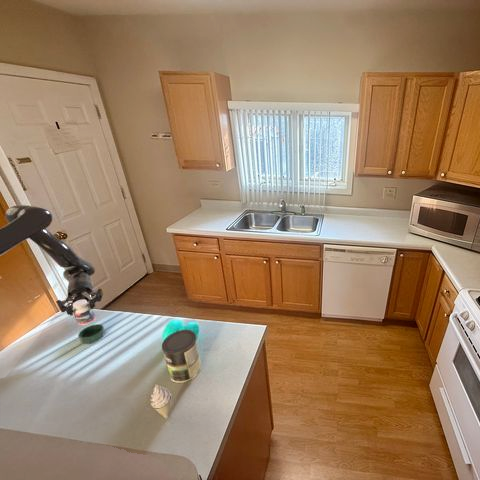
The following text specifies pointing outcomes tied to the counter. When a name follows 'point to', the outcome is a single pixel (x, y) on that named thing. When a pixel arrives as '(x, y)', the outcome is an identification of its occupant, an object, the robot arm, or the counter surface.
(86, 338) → the tin
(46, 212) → the robot arm
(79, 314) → the pill bottle
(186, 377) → the coffee can
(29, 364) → the counter surface
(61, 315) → the counter surface
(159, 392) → the ice cream cone
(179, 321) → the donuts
